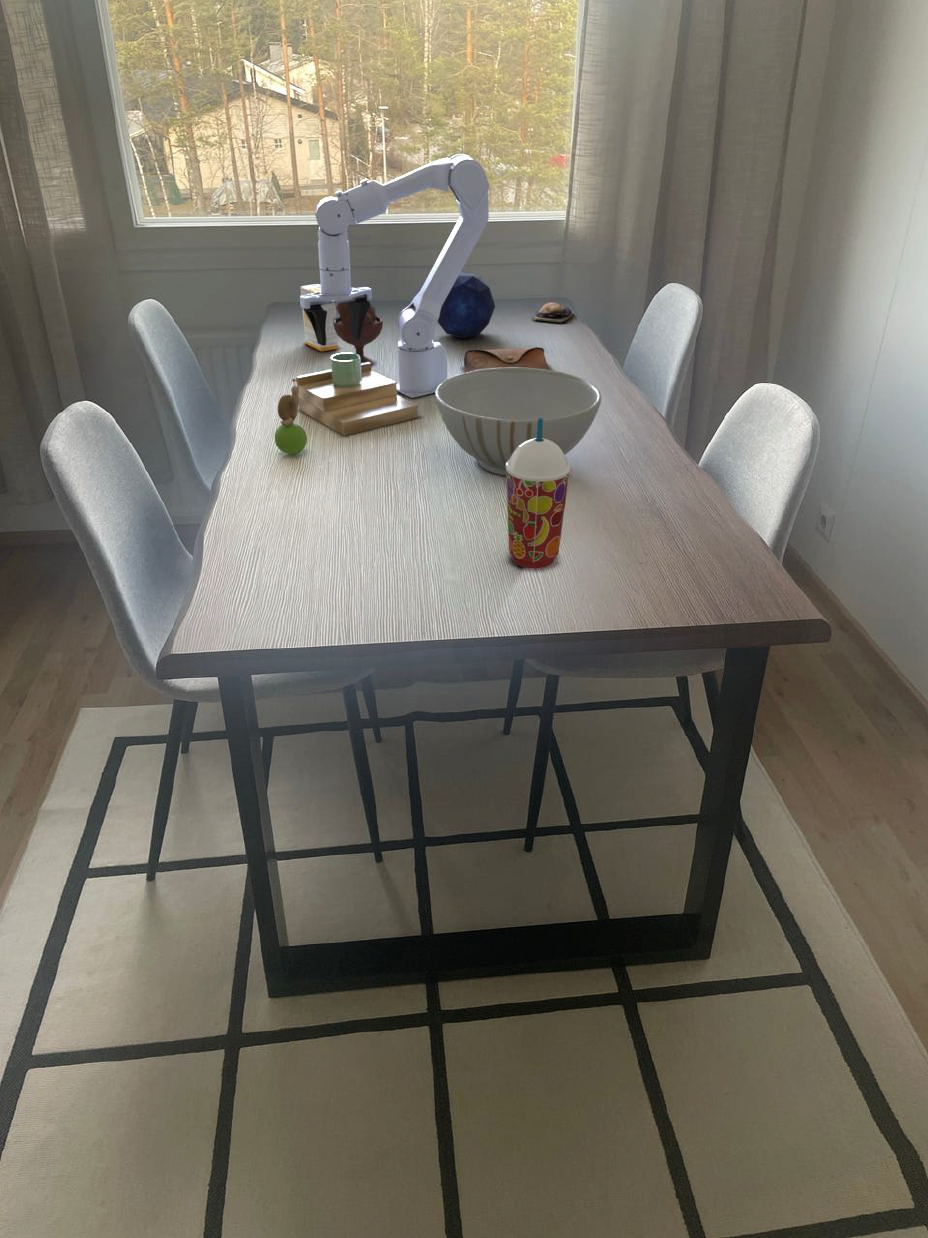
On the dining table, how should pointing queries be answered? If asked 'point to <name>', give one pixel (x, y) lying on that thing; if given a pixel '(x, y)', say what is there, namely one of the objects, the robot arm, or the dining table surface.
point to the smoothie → (536, 500)
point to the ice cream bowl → (368, 332)
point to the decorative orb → (467, 307)
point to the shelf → (354, 401)
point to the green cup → (346, 369)
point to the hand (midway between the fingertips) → (339, 341)
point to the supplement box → (330, 331)
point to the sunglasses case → (505, 359)
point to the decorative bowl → (515, 410)
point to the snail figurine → (290, 424)
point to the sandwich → (553, 313)
